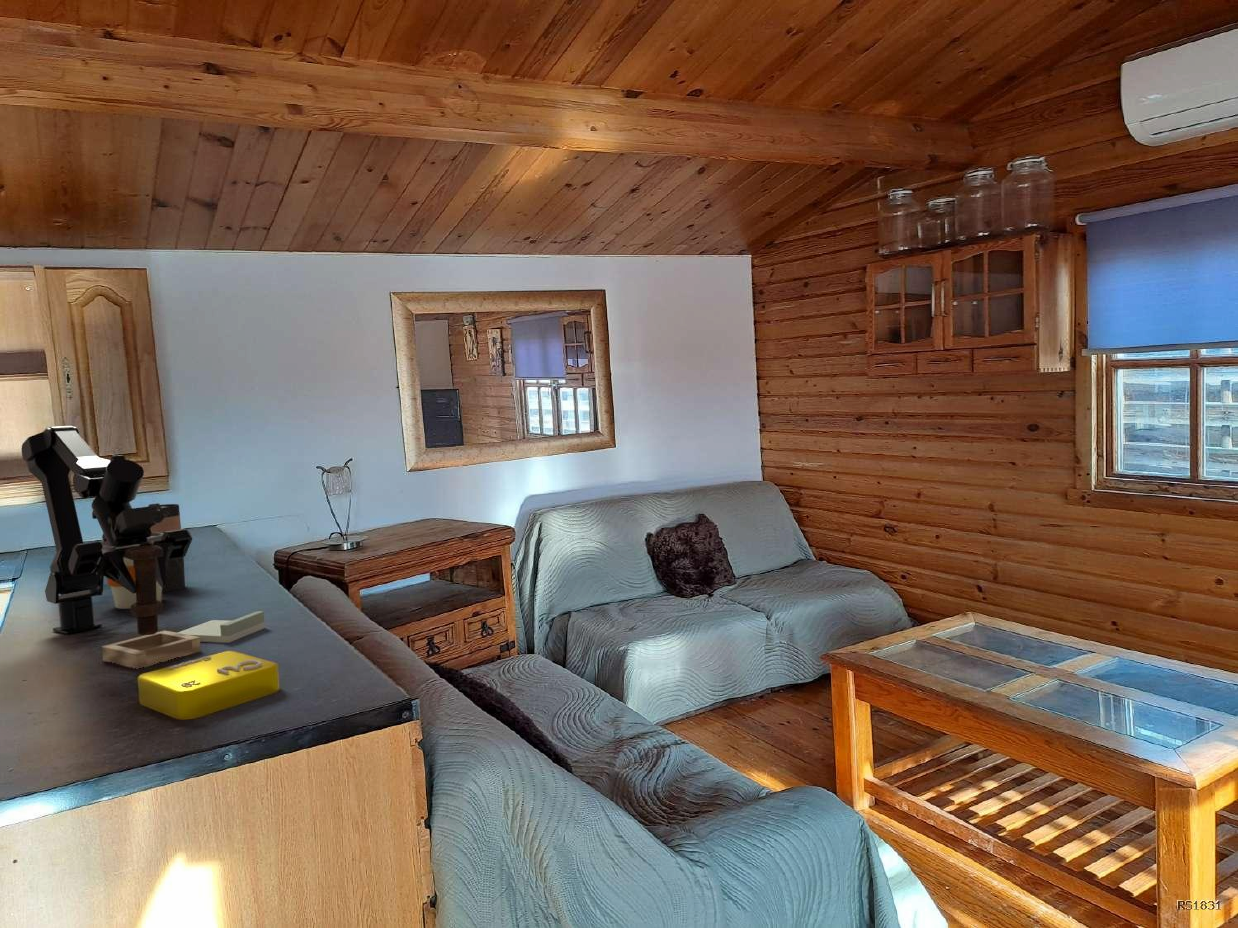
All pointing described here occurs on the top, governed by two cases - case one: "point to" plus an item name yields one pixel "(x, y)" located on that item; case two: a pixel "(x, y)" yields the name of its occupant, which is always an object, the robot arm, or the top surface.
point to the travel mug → (176, 567)
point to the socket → (151, 649)
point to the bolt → (145, 587)
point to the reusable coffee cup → (121, 594)
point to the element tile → (207, 684)
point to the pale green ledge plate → (227, 628)
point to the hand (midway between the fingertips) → (149, 588)
